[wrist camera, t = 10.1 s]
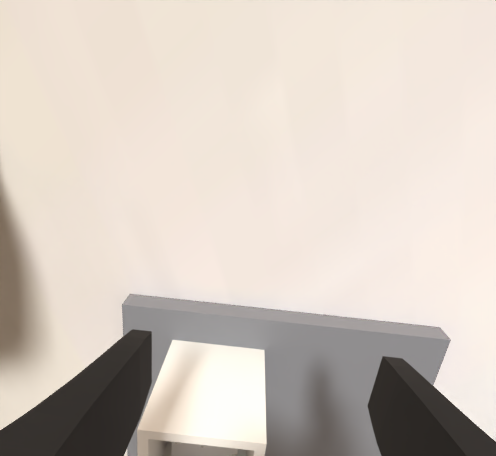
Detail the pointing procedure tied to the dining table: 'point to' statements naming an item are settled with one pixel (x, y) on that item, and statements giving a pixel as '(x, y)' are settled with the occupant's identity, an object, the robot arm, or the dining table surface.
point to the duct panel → (296, 365)
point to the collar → (206, 400)
